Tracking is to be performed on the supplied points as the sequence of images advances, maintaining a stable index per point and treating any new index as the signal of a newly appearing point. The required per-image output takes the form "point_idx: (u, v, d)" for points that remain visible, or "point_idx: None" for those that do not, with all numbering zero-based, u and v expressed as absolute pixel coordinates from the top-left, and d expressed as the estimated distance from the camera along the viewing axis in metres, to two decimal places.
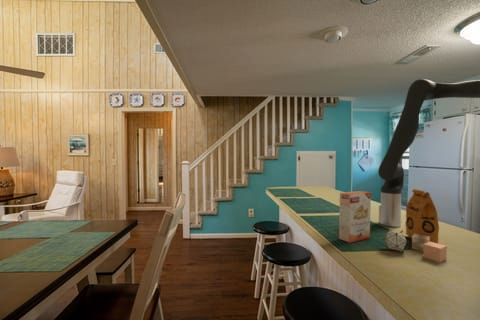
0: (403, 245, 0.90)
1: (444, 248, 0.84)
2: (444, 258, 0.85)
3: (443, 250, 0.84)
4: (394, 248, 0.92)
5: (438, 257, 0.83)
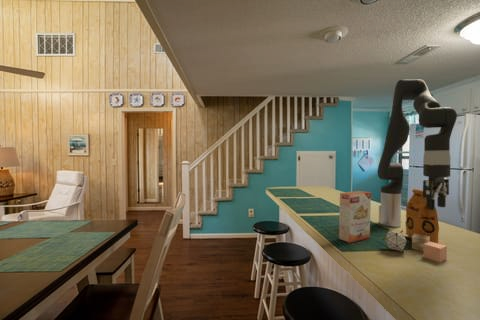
0: (403, 245, 0.90)
1: (444, 248, 0.84)
2: (444, 258, 0.85)
3: (443, 250, 0.84)
4: (394, 248, 0.92)
5: (438, 257, 0.83)
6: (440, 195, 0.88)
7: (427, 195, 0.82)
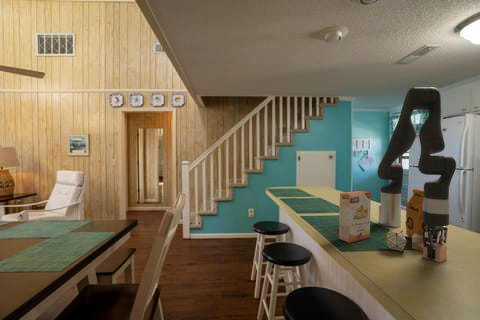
0: (403, 245, 0.90)
1: (444, 247, 0.84)
2: (444, 258, 0.85)
3: (443, 250, 0.84)
4: (394, 248, 0.92)
5: (438, 257, 0.83)
6: None
7: (428, 245, 0.83)
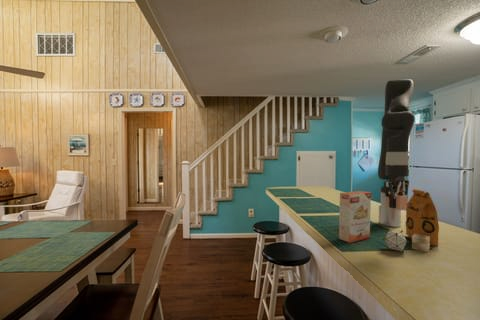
0: (403, 245, 0.90)
1: (404, 197, 0.91)
2: (404, 207, 0.91)
3: (404, 199, 0.91)
4: (394, 248, 0.92)
5: (398, 205, 0.90)
6: None
7: (389, 195, 0.90)
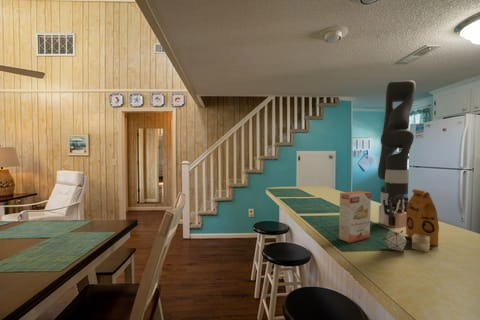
0: (403, 245, 0.90)
1: (403, 215, 0.91)
2: (403, 224, 0.91)
3: (403, 217, 0.91)
4: (394, 248, 0.92)
5: (397, 223, 0.90)
6: None
7: (388, 213, 0.90)
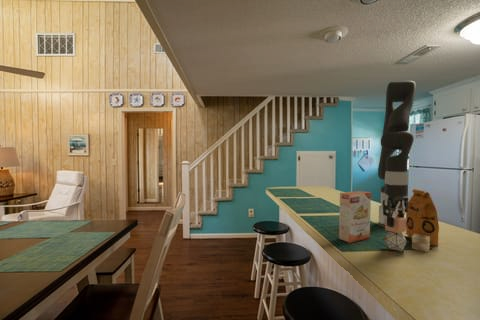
0: (403, 245, 0.90)
1: (403, 220, 0.91)
2: (403, 229, 0.91)
3: (402, 222, 0.91)
4: (394, 248, 0.92)
5: (397, 228, 0.90)
6: (399, 212, 0.95)
7: (386, 214, 0.90)
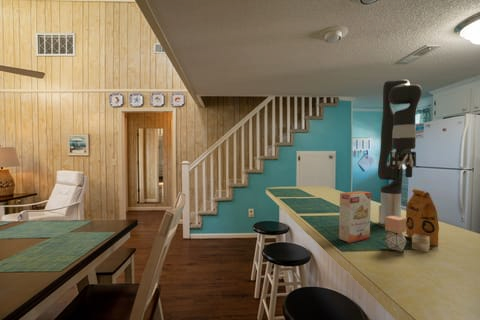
0: (403, 245, 0.90)
1: (403, 220, 0.91)
2: (403, 229, 0.91)
3: (402, 222, 0.91)
4: (394, 248, 0.92)
5: (397, 228, 0.90)
6: (408, 166, 0.96)
7: (393, 165, 0.91)
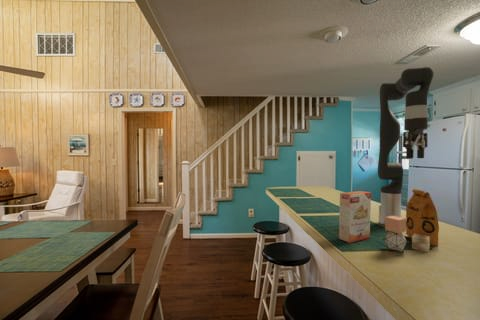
0: (403, 245, 0.90)
1: (403, 220, 0.91)
2: (403, 229, 0.91)
3: (402, 222, 0.91)
4: (394, 248, 0.92)
5: (397, 228, 0.90)
6: (419, 148, 0.98)
7: (406, 145, 0.92)
